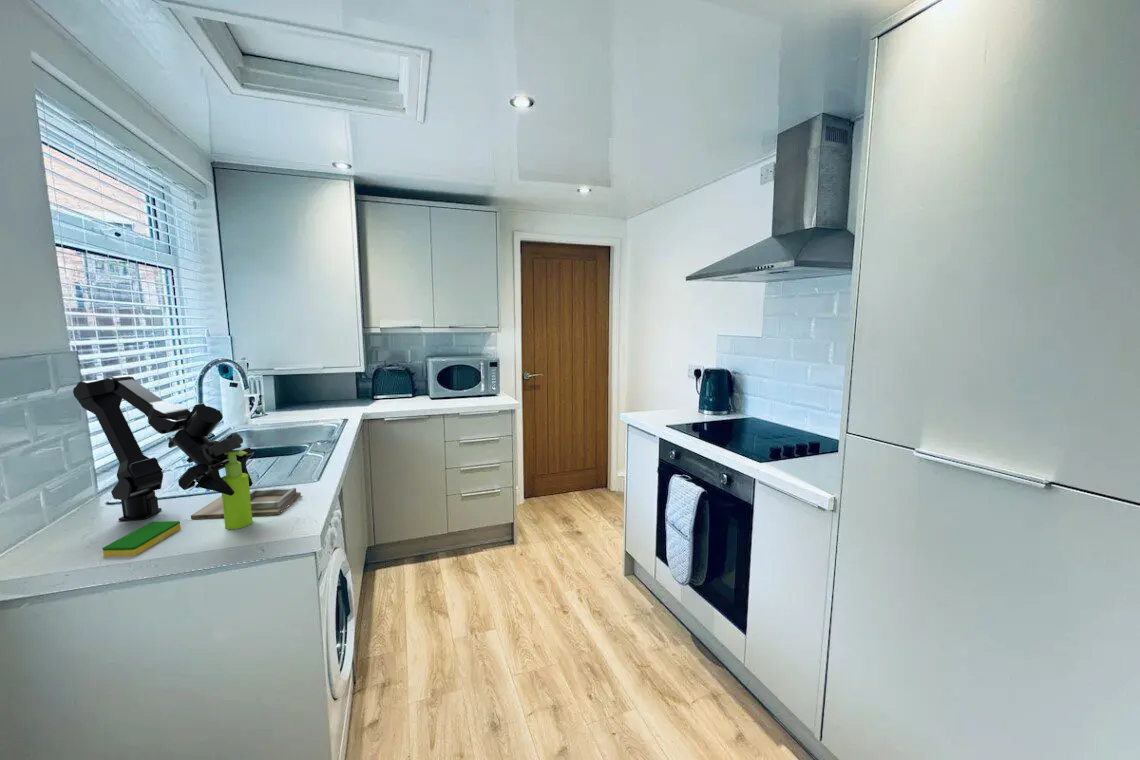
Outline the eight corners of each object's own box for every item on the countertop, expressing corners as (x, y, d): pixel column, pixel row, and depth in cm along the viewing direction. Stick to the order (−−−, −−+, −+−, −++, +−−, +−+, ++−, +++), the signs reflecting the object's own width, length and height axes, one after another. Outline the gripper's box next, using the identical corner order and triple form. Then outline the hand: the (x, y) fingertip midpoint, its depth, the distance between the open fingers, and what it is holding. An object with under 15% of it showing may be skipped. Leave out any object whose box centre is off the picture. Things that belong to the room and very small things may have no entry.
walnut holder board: (191, 518, 124) (189, 509, 124) (222, 498, 138) (221, 490, 138) (278, 514, 127) (277, 505, 127) (300, 495, 141) (300, 487, 140)
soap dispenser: (241, 530, 118) (234, 455, 115) (219, 528, 119) (211, 453, 116) (261, 520, 123) (254, 448, 121) (239, 518, 125) (232, 447, 122)
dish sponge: (102, 558, 105) (100, 548, 105) (152, 530, 119) (151, 521, 118) (134, 557, 105) (133, 547, 105) (181, 529, 119) (180, 520, 119)
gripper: (183, 436, 109) (232, 482, 109) (244, 418, 127) (285, 458, 128) (156, 467, 110) (204, 512, 111) (220, 445, 129) (261, 484, 130)
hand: (242, 489), depth 120 cm, fingers closed on soap dispenser, 6 cm apart
